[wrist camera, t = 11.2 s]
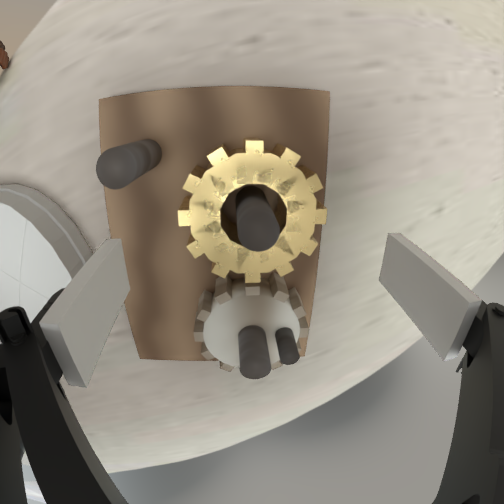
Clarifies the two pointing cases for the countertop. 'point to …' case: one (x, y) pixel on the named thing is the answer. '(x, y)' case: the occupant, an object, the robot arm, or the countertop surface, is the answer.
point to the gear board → (235, 207)
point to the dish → (36, 249)
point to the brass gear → (225, 232)
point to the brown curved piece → (3, 56)
